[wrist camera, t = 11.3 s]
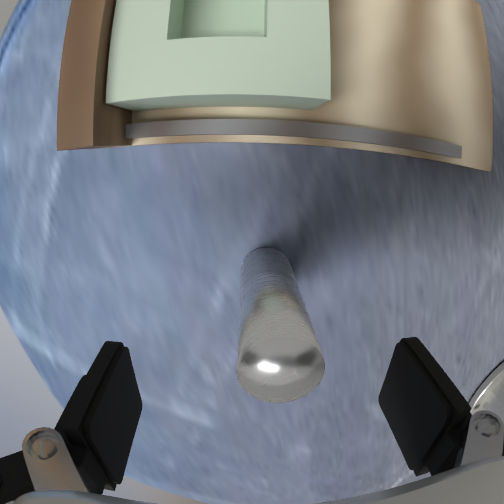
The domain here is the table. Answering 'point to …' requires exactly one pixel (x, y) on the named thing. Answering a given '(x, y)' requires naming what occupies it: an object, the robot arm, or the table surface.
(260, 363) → the grey round-ended peg
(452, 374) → the table surface
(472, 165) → the rail board
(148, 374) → the table surface
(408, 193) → the table surface
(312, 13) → the sliding block
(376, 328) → the table surface
